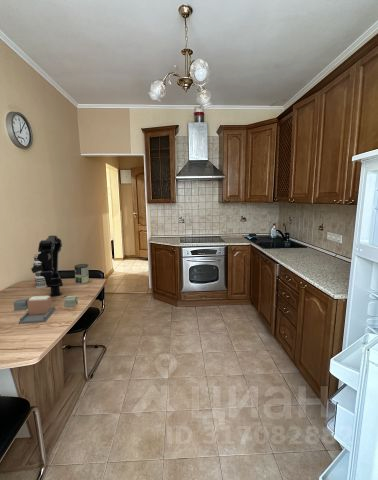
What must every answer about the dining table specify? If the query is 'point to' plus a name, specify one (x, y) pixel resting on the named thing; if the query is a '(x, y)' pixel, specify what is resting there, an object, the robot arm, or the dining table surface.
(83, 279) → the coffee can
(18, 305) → the slate block
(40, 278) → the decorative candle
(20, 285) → the dining table surface
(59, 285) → the robot arm
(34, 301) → the terracotta key block
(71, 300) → the sage block
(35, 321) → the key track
